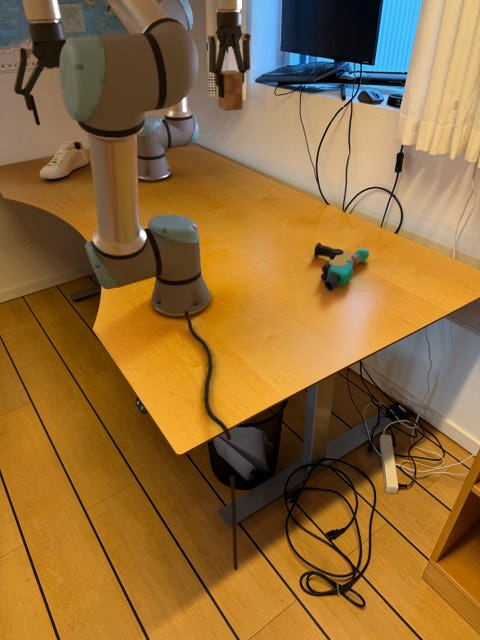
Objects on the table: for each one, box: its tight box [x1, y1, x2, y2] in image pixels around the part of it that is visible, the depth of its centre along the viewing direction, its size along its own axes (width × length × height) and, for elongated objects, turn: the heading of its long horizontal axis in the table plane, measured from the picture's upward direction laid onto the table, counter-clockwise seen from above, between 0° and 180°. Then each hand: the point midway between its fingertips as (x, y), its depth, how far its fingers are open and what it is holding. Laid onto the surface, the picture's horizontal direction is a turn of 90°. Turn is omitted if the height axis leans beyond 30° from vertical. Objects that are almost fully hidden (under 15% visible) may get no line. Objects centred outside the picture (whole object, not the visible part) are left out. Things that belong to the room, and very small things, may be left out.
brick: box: [217, 69, 244, 112], centre depth 153 cm, size 6×6×11 cm
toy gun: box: [313, 242, 370, 292], centre depth 136 cm, size 4×26×15 cm
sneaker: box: [39, 141, 89, 180], centre depth 207 cm, size 10×29×12 cm, turn 163°
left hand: (230, 95), depth 154 cm, fingers closed on brick, 6 cm apart
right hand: (66, 120), depth 120 cm, fingers open, 13 cm apart
